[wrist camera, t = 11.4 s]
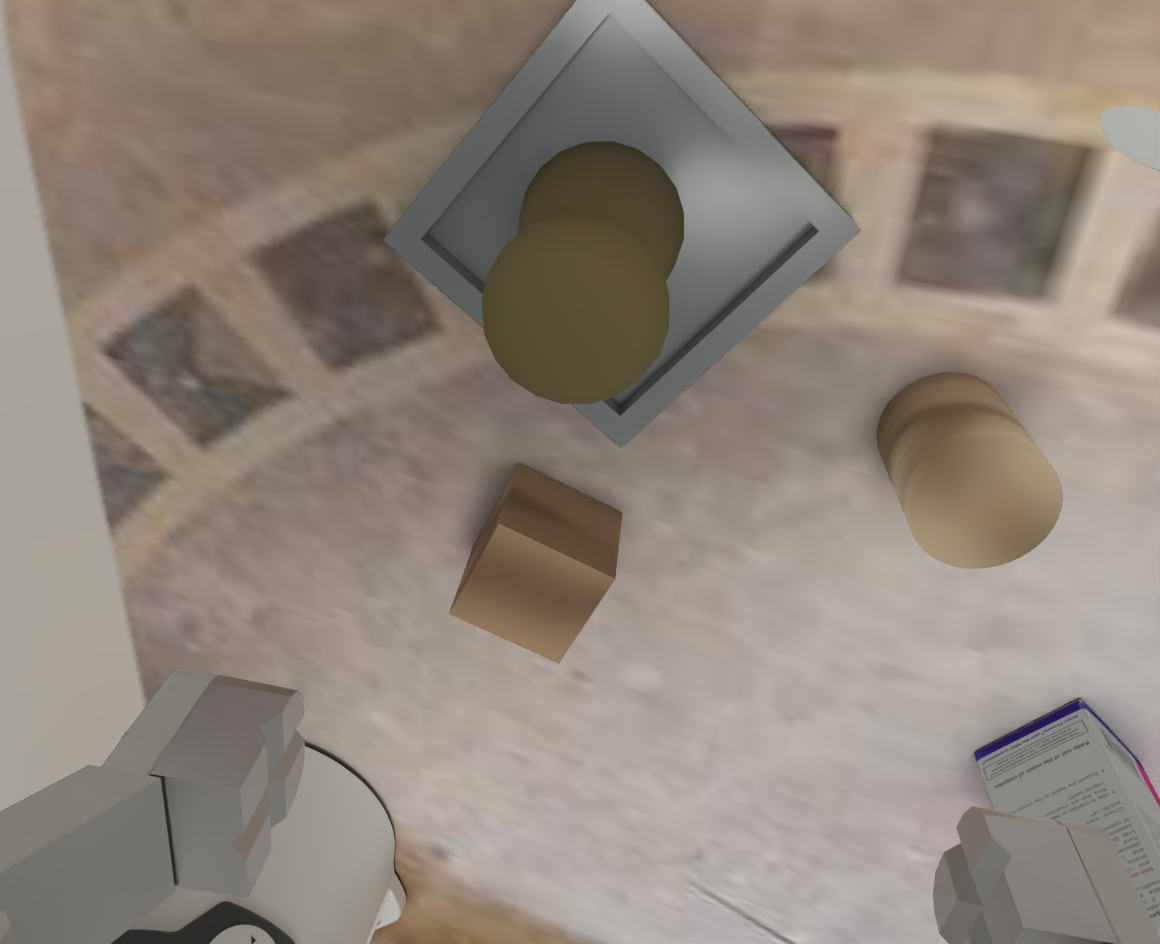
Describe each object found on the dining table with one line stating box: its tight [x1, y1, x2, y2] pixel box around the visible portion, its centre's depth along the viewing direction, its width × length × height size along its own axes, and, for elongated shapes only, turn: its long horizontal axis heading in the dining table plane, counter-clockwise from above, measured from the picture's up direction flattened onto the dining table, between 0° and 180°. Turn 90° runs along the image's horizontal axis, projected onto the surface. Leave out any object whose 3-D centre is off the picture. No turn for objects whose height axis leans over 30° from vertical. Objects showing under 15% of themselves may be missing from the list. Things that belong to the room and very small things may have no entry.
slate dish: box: [383, 0, 861, 448], centre depth 33 cm, size 12×12×2 cm
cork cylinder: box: [877, 373, 1063, 569], centre depth 34 cm, size 5×5×6 cm
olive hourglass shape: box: [481, 141, 684, 404], centre depth 29 cm, size 6×6×11 cm
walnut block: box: [449, 462, 622, 664], centre depth 39 cm, size 5×5×5 cm
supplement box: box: [975, 699, 1160, 936], centre depth 39 cm, size 6×6×12 cm
